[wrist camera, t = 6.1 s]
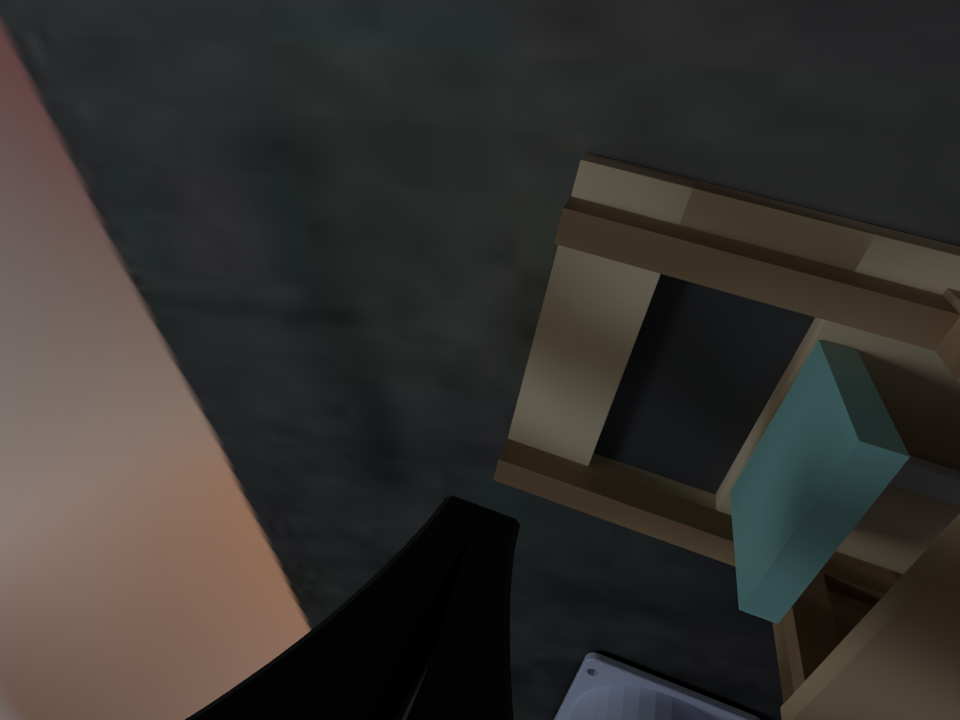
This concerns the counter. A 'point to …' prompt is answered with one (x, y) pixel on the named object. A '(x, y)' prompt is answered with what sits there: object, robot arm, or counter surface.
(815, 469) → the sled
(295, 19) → the counter surface
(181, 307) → the counter surface
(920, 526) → the tunnel board
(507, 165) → the counter surface
